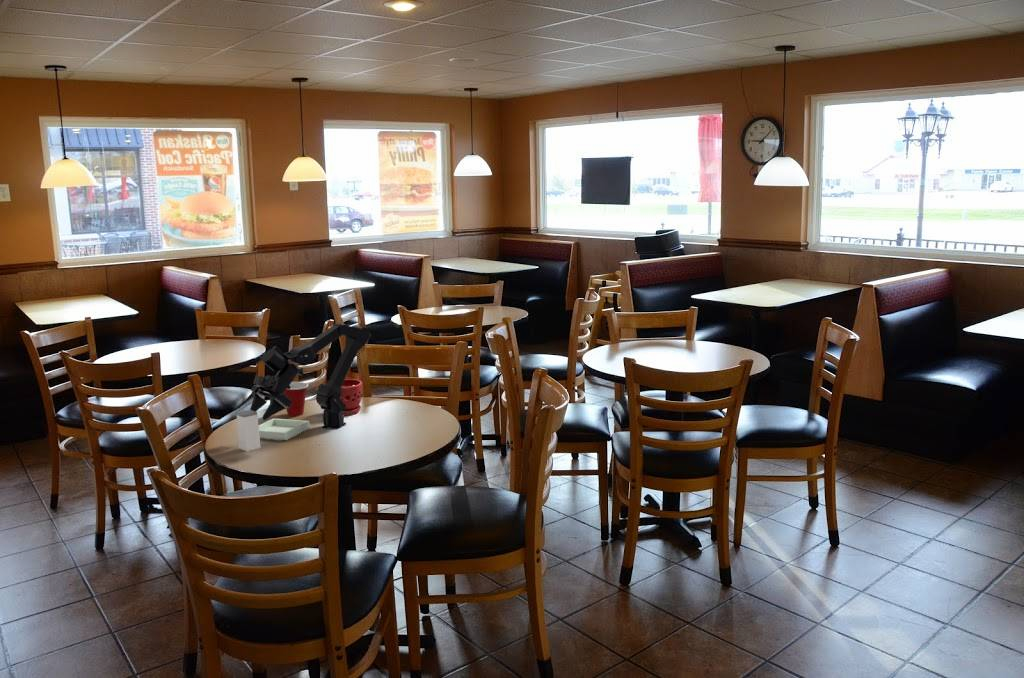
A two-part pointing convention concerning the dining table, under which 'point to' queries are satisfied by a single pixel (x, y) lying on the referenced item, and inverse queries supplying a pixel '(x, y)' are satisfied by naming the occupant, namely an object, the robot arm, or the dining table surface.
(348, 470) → the dining table surface
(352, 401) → the plant pot
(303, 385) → the plastic cup
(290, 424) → the tray
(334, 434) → the dining table surface
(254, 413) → the white rectangular box
